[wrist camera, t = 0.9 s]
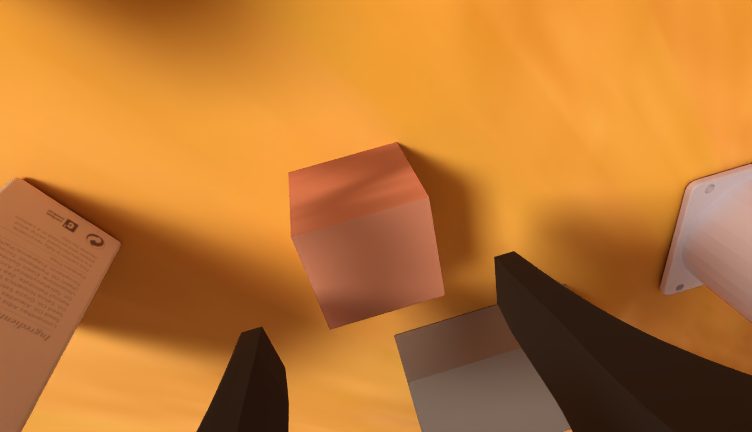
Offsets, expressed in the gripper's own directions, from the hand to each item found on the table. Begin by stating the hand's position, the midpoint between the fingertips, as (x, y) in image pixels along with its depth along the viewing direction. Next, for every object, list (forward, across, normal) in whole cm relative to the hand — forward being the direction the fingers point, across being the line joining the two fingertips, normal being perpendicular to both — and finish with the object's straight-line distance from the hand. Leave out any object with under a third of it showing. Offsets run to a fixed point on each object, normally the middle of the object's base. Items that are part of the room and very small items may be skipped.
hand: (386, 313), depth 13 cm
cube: (+7, 0, 0) cm, 7 cm away
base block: (+6, -5, +14) cm, 16 cm away
